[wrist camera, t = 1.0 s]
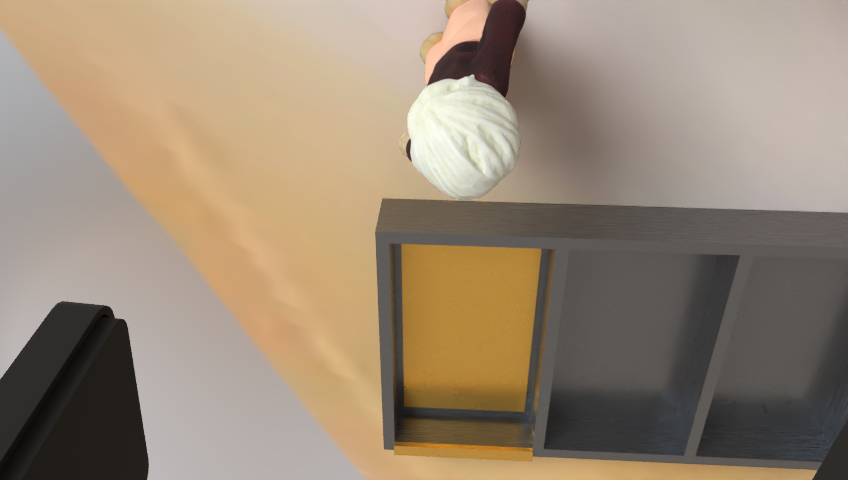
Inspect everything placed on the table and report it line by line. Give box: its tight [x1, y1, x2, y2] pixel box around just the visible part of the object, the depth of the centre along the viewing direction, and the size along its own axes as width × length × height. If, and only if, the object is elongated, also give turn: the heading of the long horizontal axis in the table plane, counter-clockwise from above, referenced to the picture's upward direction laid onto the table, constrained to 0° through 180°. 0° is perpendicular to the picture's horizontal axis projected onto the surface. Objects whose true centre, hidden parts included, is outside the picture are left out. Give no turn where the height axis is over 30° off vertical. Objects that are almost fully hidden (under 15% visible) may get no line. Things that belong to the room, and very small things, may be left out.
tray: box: [375, 199, 848, 470], centre depth 38 cm, size 25×14×3 cm, turn 90°
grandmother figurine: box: [399, 0, 528, 200], centre depth 26 cm, size 8×4×13 cm, turn 161°
